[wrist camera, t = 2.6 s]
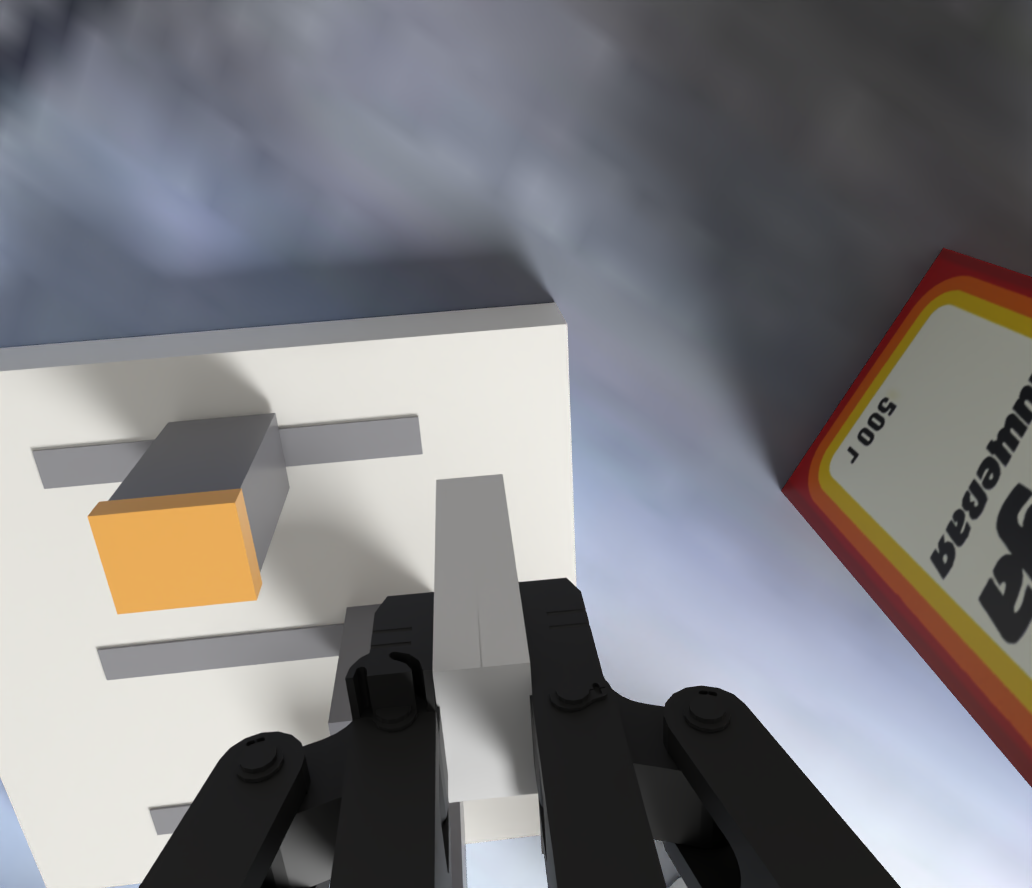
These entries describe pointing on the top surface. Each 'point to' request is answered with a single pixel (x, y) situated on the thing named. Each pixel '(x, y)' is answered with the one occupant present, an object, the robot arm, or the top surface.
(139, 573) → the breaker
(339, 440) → the white slider panel
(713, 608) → the top surface
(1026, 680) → the baking soda box
